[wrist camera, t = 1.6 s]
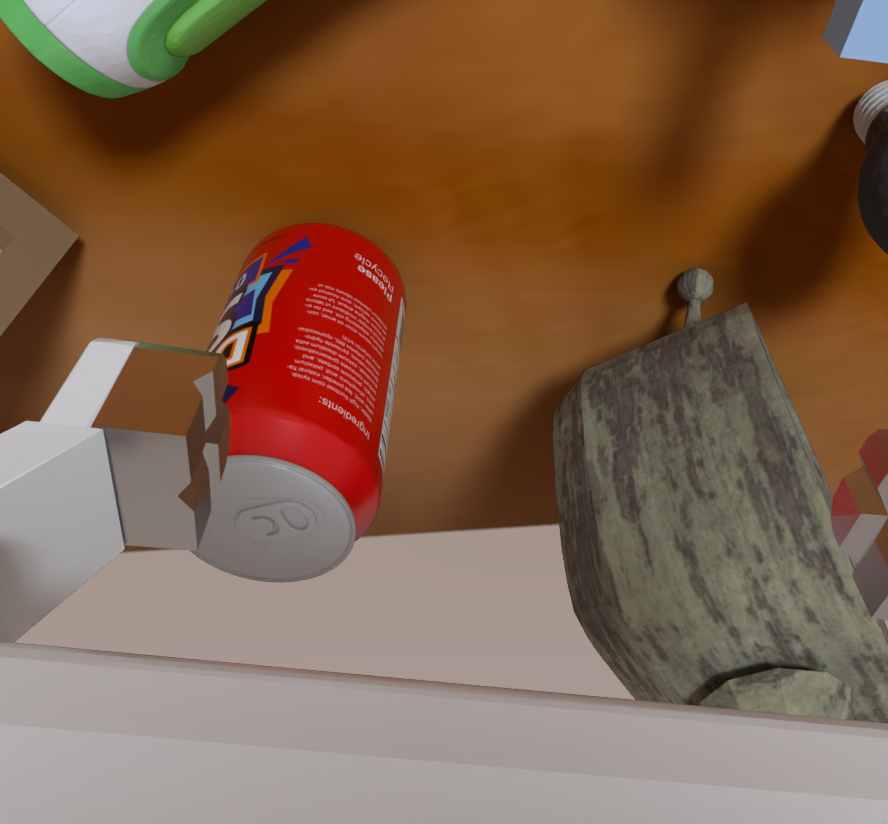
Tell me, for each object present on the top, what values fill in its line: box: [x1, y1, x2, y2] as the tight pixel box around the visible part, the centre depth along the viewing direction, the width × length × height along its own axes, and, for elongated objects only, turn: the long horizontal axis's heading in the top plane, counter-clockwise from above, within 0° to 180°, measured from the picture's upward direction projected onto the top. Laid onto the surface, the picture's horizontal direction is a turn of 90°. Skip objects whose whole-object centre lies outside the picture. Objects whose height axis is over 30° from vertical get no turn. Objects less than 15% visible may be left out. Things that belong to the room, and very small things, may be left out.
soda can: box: [190, 223, 406, 582], centre depth 34 cm, size 8×8×15 cm
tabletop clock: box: [553, 268, 888, 723], centre depth 33 cm, size 14×9×25 cm, turn 32°
